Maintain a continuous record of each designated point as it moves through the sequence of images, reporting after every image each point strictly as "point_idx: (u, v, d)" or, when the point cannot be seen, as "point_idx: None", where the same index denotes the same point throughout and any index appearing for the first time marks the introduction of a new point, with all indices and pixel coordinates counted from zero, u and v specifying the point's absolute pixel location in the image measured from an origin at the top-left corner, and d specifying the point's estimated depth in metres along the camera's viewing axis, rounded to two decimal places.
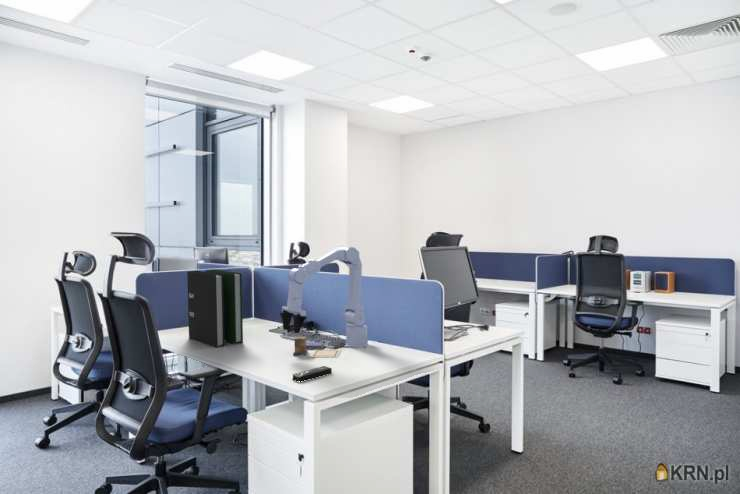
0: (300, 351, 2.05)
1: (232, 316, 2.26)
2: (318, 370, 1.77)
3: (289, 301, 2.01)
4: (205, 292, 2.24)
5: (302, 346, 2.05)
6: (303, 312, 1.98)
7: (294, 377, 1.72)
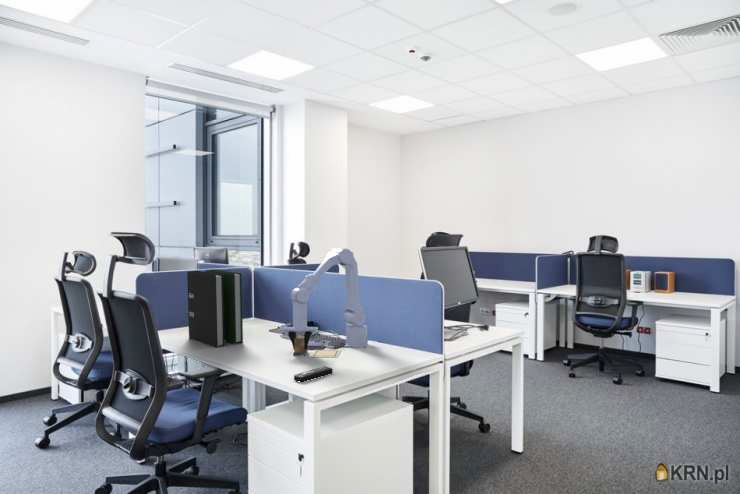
0: (300, 351, 2.05)
1: (232, 316, 2.26)
2: (319, 370, 1.77)
3: (299, 322, 2.04)
4: (205, 292, 2.24)
5: (302, 346, 2.05)
6: (317, 329, 2.06)
7: (295, 377, 1.72)
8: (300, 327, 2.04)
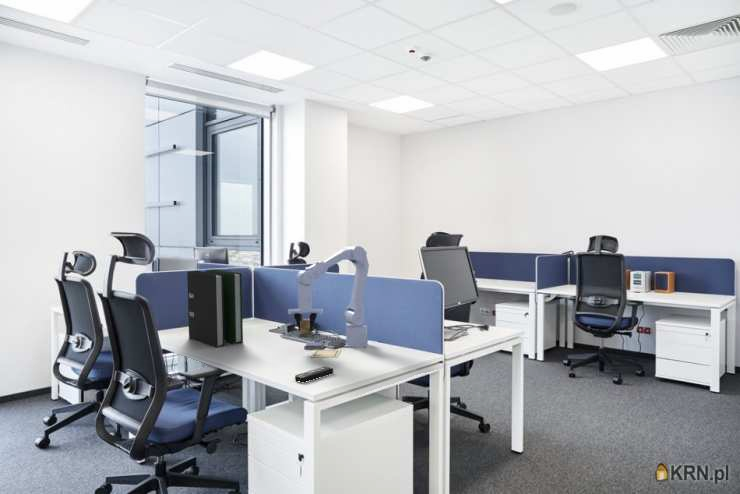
0: (306, 333, 2.09)
1: (232, 316, 2.26)
2: (320, 370, 1.77)
3: (305, 303, 2.07)
4: (205, 292, 2.24)
5: (307, 328, 2.08)
6: (322, 310, 2.10)
7: (297, 378, 1.71)
8: (306, 309, 2.07)
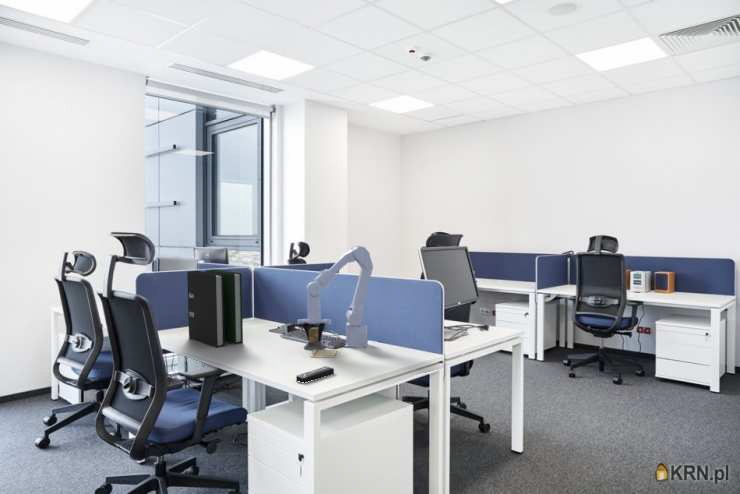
0: (314, 341, 2.15)
1: (232, 316, 2.26)
2: (321, 371, 1.77)
3: (313, 314, 2.14)
4: (205, 292, 2.24)
5: (316, 336, 2.15)
6: (330, 321, 2.17)
7: (298, 378, 1.71)
8: (314, 319, 2.14)
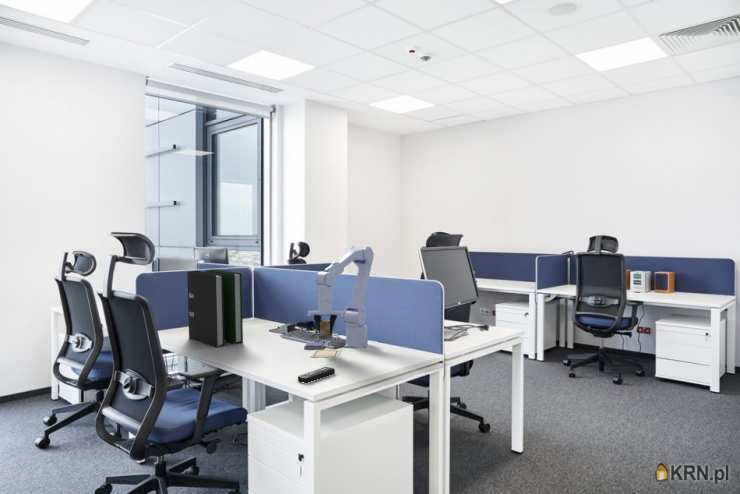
0: (325, 334, 2.05)
1: (232, 316, 2.26)
2: (322, 371, 1.76)
3: (325, 305, 2.04)
4: (205, 292, 2.24)
5: (328, 329, 2.05)
6: (342, 312, 2.06)
7: (299, 379, 1.70)
8: (326, 310, 2.04)
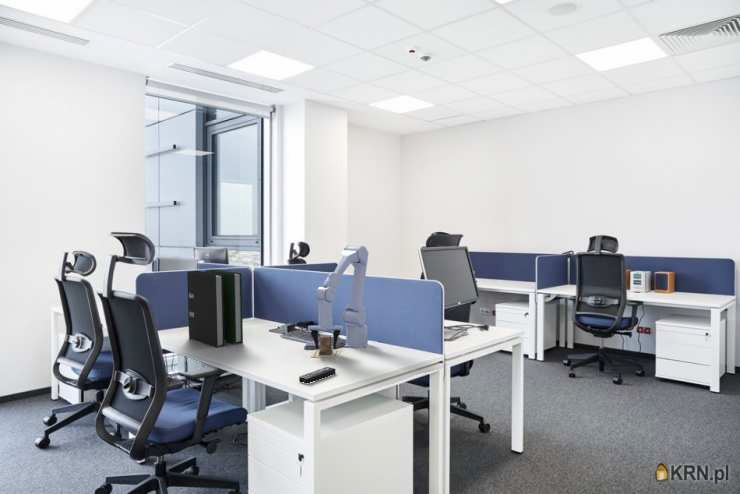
0: (326, 350, 2.05)
1: (232, 316, 2.26)
2: (323, 371, 1.76)
3: (325, 320, 2.04)
4: (205, 292, 2.24)
5: (328, 345, 2.05)
6: (342, 327, 2.06)
7: (301, 379, 1.70)
8: (326, 326, 2.04)
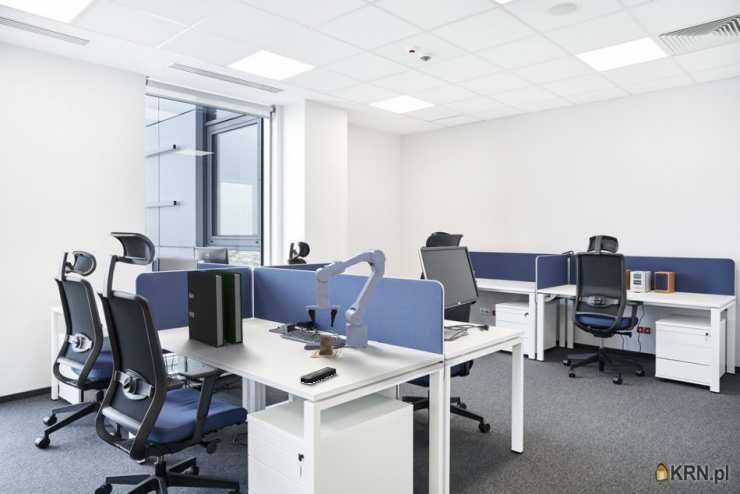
0: (326, 350, 2.05)
1: (232, 316, 2.26)
2: (324, 371, 1.76)
3: (322, 300, 2.13)
4: (205, 292, 2.24)
5: (328, 345, 2.05)
6: (339, 307, 2.15)
7: (302, 379, 1.69)
8: (323, 305, 2.13)
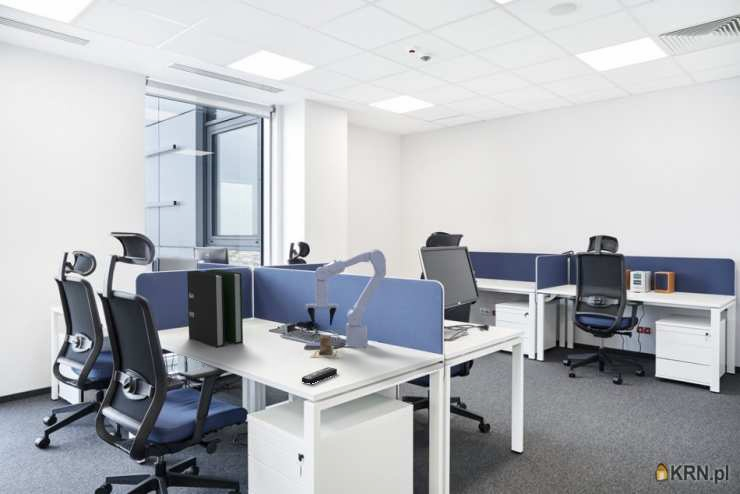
0: (326, 350, 2.05)
1: (232, 316, 2.26)
2: (325, 371, 1.76)
3: (321, 298, 2.17)
4: (205, 292, 2.24)
5: (328, 345, 2.05)
6: (338, 305, 2.19)
7: (304, 380, 1.69)
8: (322, 303, 2.17)
